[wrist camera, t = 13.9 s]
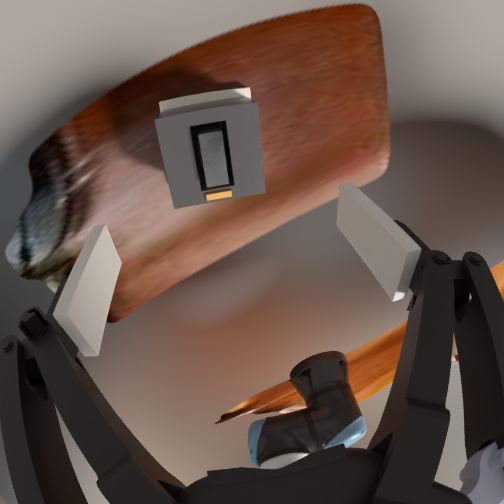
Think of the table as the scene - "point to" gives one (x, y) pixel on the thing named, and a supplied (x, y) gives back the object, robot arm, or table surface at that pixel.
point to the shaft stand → (209, 134)
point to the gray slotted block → (236, 142)
